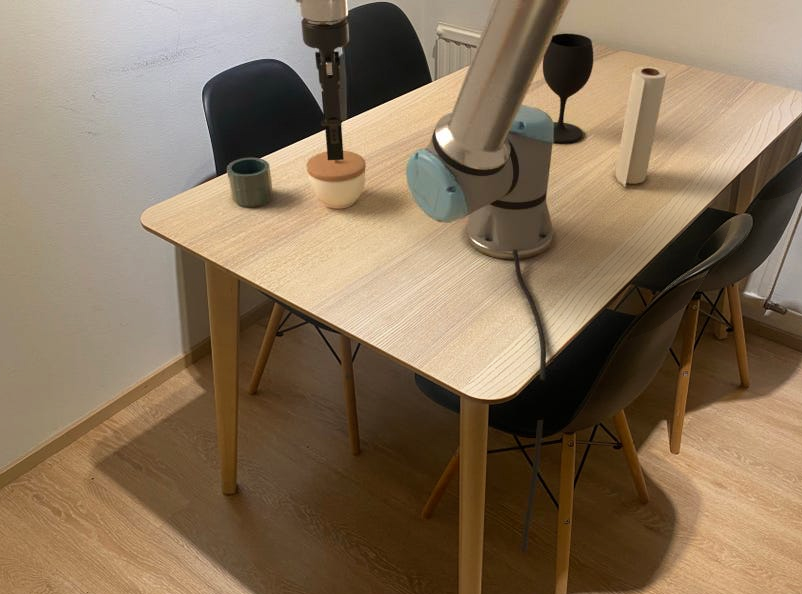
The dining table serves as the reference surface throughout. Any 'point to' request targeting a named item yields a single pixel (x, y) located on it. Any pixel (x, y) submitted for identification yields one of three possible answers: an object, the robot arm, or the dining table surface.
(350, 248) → the dining table surface
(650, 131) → the paper towel roll
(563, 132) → the wine glass
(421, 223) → the dining table surface
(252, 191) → the grey-green hollow cylinder
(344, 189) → the trinket box
